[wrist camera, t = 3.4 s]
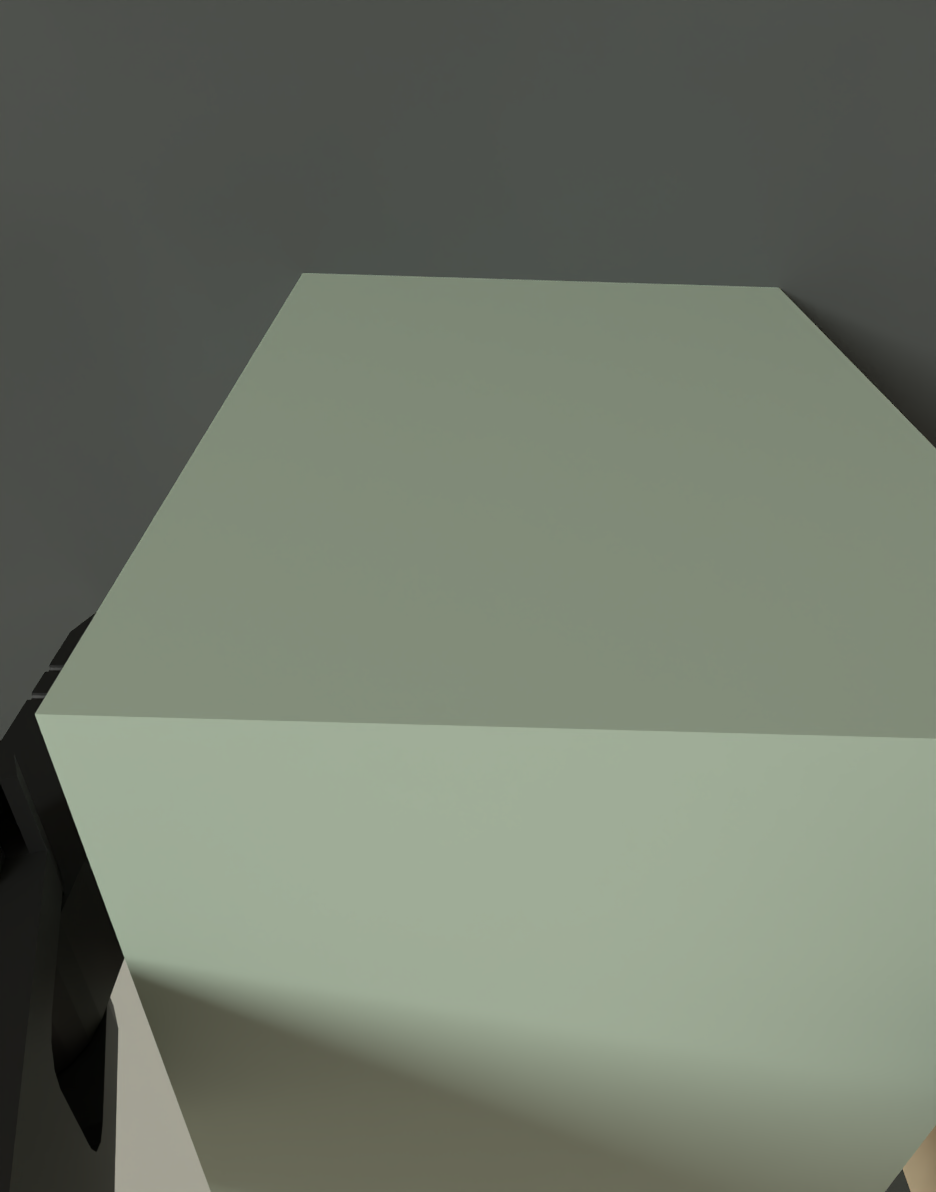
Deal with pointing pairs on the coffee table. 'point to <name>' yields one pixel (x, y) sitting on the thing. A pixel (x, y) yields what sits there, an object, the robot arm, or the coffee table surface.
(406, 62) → the coffee table surface
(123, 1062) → the cream block
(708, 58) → the coffee table surface
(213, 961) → the sage block
